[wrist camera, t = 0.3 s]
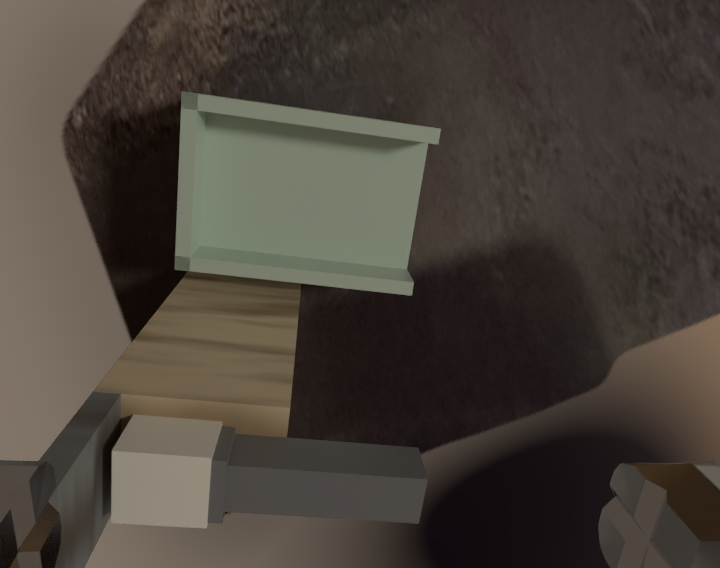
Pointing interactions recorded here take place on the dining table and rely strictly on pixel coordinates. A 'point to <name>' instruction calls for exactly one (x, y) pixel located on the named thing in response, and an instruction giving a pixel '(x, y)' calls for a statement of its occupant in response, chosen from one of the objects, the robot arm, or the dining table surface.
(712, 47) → the dining table surface
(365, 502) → the grey square bar
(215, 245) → the bin
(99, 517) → the stand
